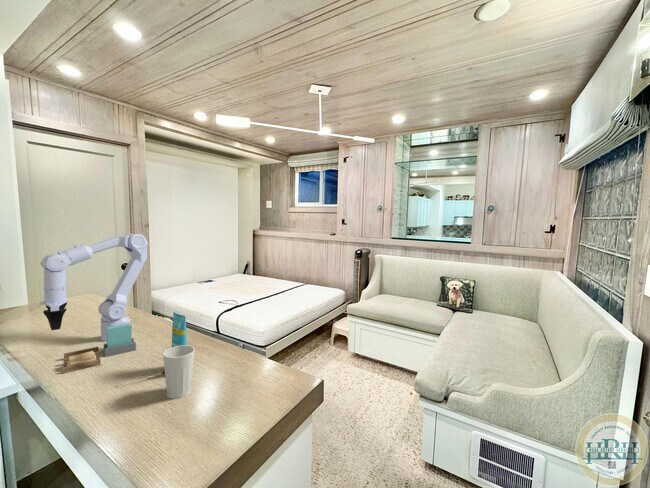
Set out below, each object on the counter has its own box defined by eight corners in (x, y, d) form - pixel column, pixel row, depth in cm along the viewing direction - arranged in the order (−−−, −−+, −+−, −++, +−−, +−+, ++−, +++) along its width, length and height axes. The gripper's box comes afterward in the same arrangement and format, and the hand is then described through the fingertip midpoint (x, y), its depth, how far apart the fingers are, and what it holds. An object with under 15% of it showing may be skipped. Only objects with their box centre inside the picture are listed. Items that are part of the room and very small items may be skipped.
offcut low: (95, 360, 94) (95, 354, 94) (96, 364, 92) (96, 358, 92) (67, 366, 90) (67, 361, 90) (67, 371, 87) (67, 365, 87)
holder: (133, 346, 108) (133, 337, 108) (136, 352, 103) (136, 343, 102) (103, 352, 102) (103, 343, 102) (105, 360, 97) (105, 350, 96)
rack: (98, 353, 101) (98, 345, 101) (100, 367, 92) (100, 358, 91) (64, 360, 95) (64, 352, 95) (63, 376, 86) (62, 367, 85)
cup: (187, 381, 85) (187, 342, 85) (199, 391, 80) (199, 350, 80) (158, 392, 79) (158, 351, 79) (170, 404, 74) (170, 360, 74)
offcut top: (92, 355, 94) (92, 350, 94) (95, 358, 92) (94, 353, 92) (68, 361, 89) (68, 356, 89) (70, 364, 87) (70, 359, 87)
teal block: (130, 346, 105) (130, 323, 105) (131, 348, 103) (131, 325, 103) (107, 351, 101) (106, 327, 100) (107, 354, 99) (107, 329, 98)
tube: (165, 371, 91) (165, 313, 89) (179, 365, 95) (179, 309, 94) (179, 378, 87) (179, 317, 86) (193, 371, 91) (193, 313, 90)
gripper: (41, 285, 100) (42, 322, 101) (36, 293, 90) (38, 335, 90) (67, 283, 105) (68, 319, 106) (66, 291, 94) (67, 330, 95)
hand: (56, 326), depth 98 cm, fingers open, 7 cm apart
